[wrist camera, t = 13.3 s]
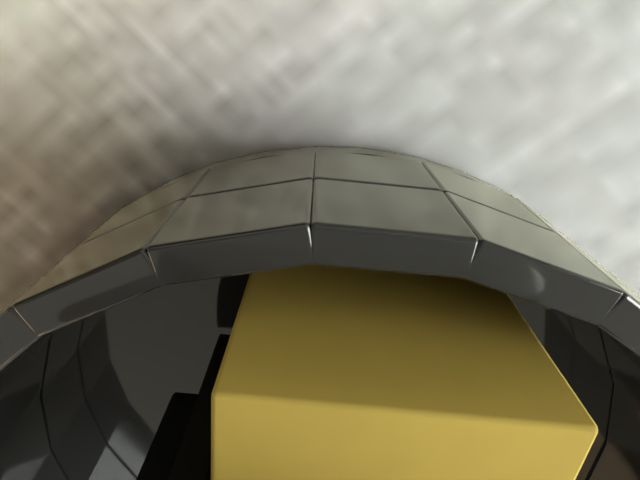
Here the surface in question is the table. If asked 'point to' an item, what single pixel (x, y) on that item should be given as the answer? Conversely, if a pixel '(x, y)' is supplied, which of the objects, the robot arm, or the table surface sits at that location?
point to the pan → (278, 253)
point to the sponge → (389, 383)
